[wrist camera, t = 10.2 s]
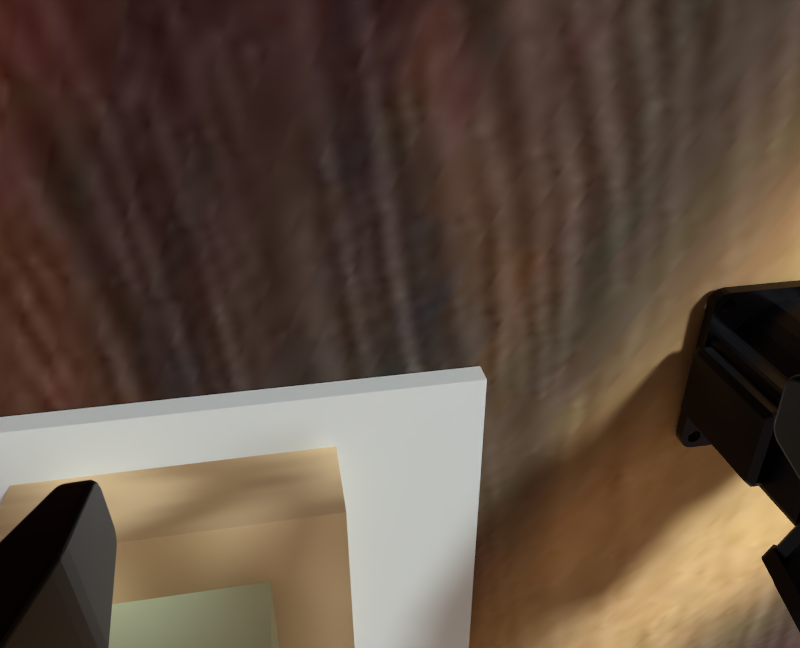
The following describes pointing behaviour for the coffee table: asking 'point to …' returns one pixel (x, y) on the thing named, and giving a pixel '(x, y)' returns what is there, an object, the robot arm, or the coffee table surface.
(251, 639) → the top block
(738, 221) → the coffee table surface
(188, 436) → the white rectangular plate
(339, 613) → the base block
